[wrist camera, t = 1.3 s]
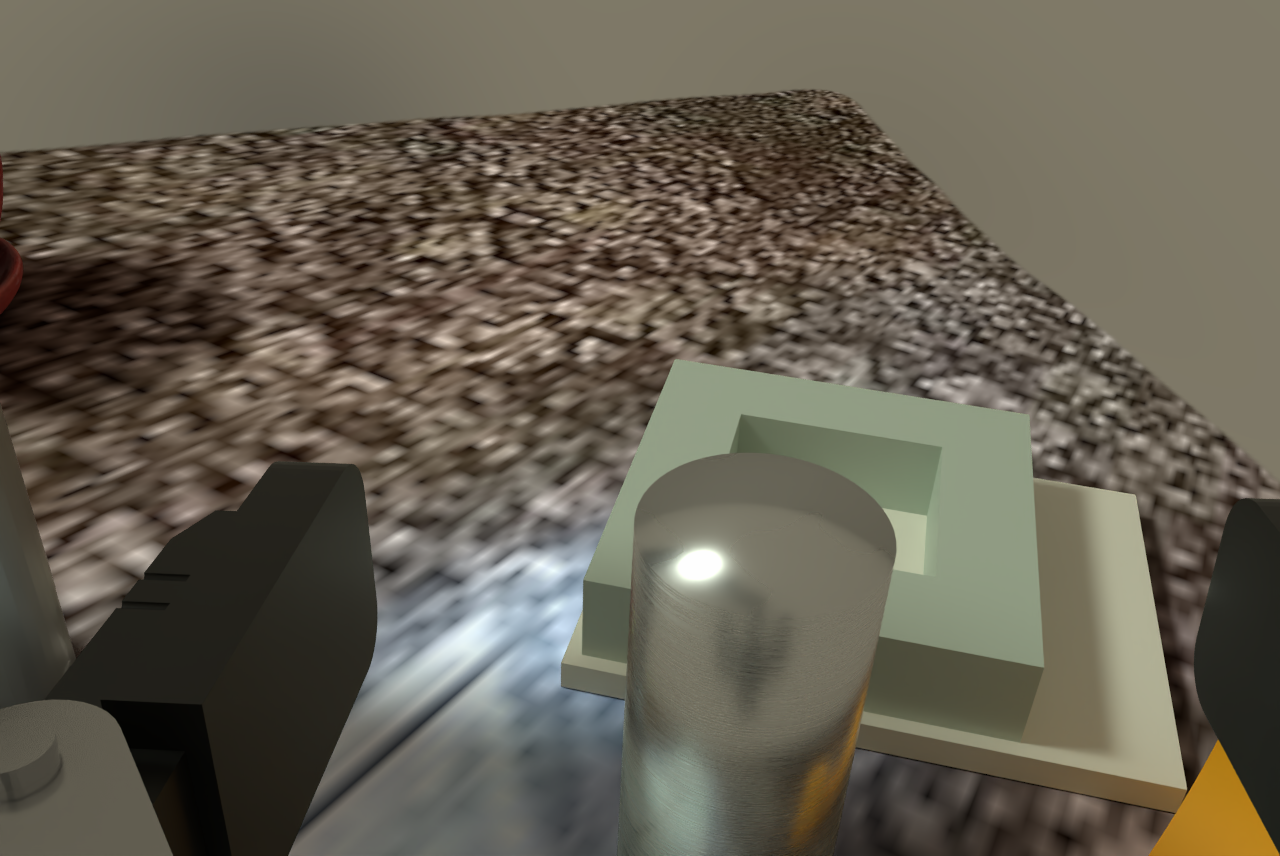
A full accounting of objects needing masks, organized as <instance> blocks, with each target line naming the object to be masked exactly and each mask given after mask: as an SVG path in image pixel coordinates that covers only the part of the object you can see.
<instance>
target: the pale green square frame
mask: <svg viewBox="0 0 1280 856" xmlns="http://www.w3.org/2000/svg"><path fill="white" fill-rule="evenodd" d="M730 453H767V454H774V455H782V456H787V457H792V458H797V459H800V460H804V461H807V462H811V463H814V464H817V465H819V466H822V467H825V468H827V469H829V470H832V471H834V472H836V473H838V474H840V475H842V476H844V477H845V478H847V479H849V480H850V481H852V482H854V483H855V484H856V485H858V486H859V487H861V488H862V489H863V490H865V491H866V492H867V493H868V494H869V495H870V496H871V497H872V498H874V499H875V500H876V502H877V503H878V504H879V505H880V506H881V508H882V509H883V510H884V512H885V513H886V515H887V516H888V518H889V520H890V522H891V524H892V527H893V529H894V532H895V537H896V544H897V553H896V557H895V562H894V567H893V572H892V577H891V581H890V586H889V591H888V596H887V601H886V605H885V610H884V615H883V620H882V624H881V629H880V634H879V639H878V643H877V648H876V653H875V658H874V662H873V667H872V672H871V677H870V682H869V686H868V691H867V696H866V701H865V705H864V710H863V715H862V720H861V724H860V729H859V734H858V739H857V743H856V747H857V748H862V749H867V750H872V751H877V752H882V753H887V754H891V755H896V756H901V757H906V758H911V759H916V760H920V761H925V762H930V763H935V764H940V765H945V766H950V767H954V768H959V769H964V770H969V771H974V772H979V773H983V774H988V775H993V776H998V777H1003V778H1008V779H1013V780H1017V781H1022V782H1027V783H1032V784H1037V785H1042V786H1047V787H1051V788H1056V789H1061V790H1066V791H1071V792H1076V793H1080V794H1085V795H1090V796H1095V797H1100V798H1105V799H1110V800H1114V801H1119V802H1124V803H1129V804H1134V805H1139V806H1143V807H1148V808H1153V809H1158V810H1163V811H1168V812H1173V813H1176V812H1177V811H1178V809H1179V807H1180V805H1181V803H1182V800H1183V798H1184V796H1185V794H1186V792H1187V786H1186V780H1185V774H1184V769H1183V763H1182V757H1181V751H1180V746H1179V740H1178V734H1177V729H1176V723H1175V717H1174V712H1173V706H1172V700H1171V694H1170V689H1169V683H1168V677H1167V672H1166V666H1165V660H1164V654H1163V649H1162V643H1161V637H1160V632H1159V626H1158V620H1157V615H1156V609H1155V603H1154V597H1153V592H1152V586H1151V580H1150V575H1149V569H1148V563H1147V557H1146V552H1145V546H1144V540H1143V535H1142V529H1141V523H1140V518H1139V512H1138V506H1137V500H1136V495H1134V494H1128V493H1122V492H1116V491H1110V490H1104V489H1097V488H1091V487H1085V486H1079V485H1073V484H1067V483H1061V482H1055V481H1049V480H1043V479H1037V478H1033V470H1032V453H1031V436H1030V419H1029V415H1027V414H1021V413H1015V412H1008V411H1002V410H996V409H989V408H983V407H976V406H970V405H964V404H957V403H951V402H945V401H938V400H932V399H926V398H919V397H913V396H907V395H900V394H894V393H888V392H881V391H875V390H868V389H862V388H856V387H849V386H843V385H837V384H830V383H824V382H818V381H811V380H805V379H799V378H792V377H786V376H779V375H773V374H767V373H760V372H754V371H748V370H741V369H735V368H729V367H722V366H716V365H710V364H703V363H697V362H690V361H684V360H678V359H675V361H674V363H673V366H672V368H671V371H670V373H669V375H668V378H667V380H666V383H665V385H664V387H663V390H662V392H661V395H660V397H659V399H658V402H657V404H656V407H655V409H654V411H653V414H652V416H651V419H650V421H649V423H648V426H647V428H646V431H645V433H644V436H643V438H642V440H641V443H640V445H639V448H638V450H637V452H636V455H635V457H634V460H633V462H632V464H631V467H630V469H629V472H628V474H627V476H626V479H625V481H624V484H623V486H622V488H621V491H620V493H619V496H618V498H617V500H616V503H615V505H614V508H613V510H612V512H611V515H610V517H609V520H608V522H607V524H606V527H605V529H604V532H603V534H602V536H601V539H600V541H599V544H598V546H597V548H596V551H595V553H594V556H593V558H592V560H591V563H590V565H589V568H588V570H587V573H586V575H585V577H584V580H583V610H582V613H581V615H580V618H579V620H578V623H577V625H576V628H575V630H574V633H573V635H572V638H571V640H570V643H569V645H568V647H567V650H566V652H565V655H564V657H563V660H562V662H561V686H562V687H567V688H571V689H576V690H581V691H586V692H591V693H596V694H600V695H605V696H610V697H615V698H620V699H625V690H626V671H627V651H628V632H629V613H630V593H631V574H632V554H633V535H634V517H635V513H636V509H637V506H638V504H639V502H640V500H641V498H642V496H643V494H644V493H645V492H646V491H647V489H648V488H649V487H650V486H651V485H652V484H653V483H654V482H655V481H656V480H657V479H659V478H660V477H661V476H663V475H664V474H666V473H667V472H669V471H671V470H673V469H675V468H676V467H678V466H681V465H683V464H686V463H688V462H691V461H694V460H697V459H701V458H704V457H709V456H715V455H720V454H730Z"/></svg>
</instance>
